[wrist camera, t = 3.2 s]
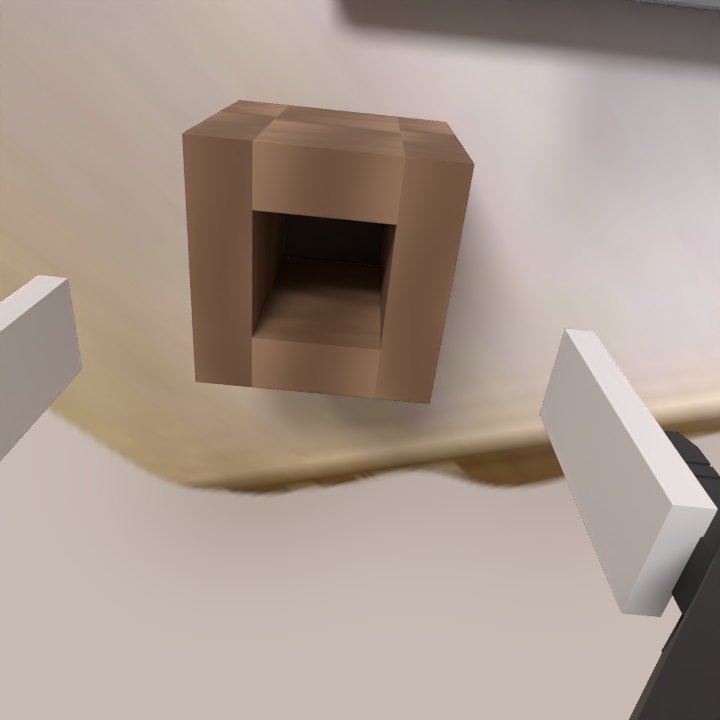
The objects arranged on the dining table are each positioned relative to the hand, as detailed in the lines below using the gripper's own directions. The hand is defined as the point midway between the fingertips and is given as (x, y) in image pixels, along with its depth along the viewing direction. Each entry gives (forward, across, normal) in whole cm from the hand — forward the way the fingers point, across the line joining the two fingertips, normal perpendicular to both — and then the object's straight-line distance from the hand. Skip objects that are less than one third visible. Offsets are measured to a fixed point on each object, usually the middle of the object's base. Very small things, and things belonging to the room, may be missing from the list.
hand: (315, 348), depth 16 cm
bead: (+12, 0, 0) cm, 12 cm away
